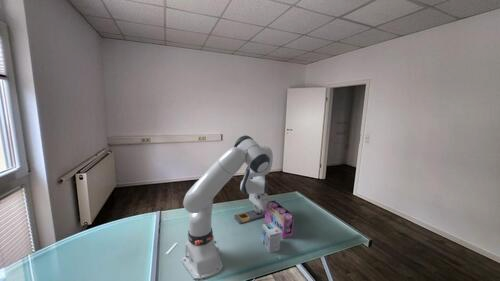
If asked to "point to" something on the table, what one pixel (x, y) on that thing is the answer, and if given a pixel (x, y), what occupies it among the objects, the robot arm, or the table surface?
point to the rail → (248, 216)
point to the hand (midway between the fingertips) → (257, 210)
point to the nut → (256, 210)
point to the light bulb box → (271, 237)
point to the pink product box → (280, 218)
